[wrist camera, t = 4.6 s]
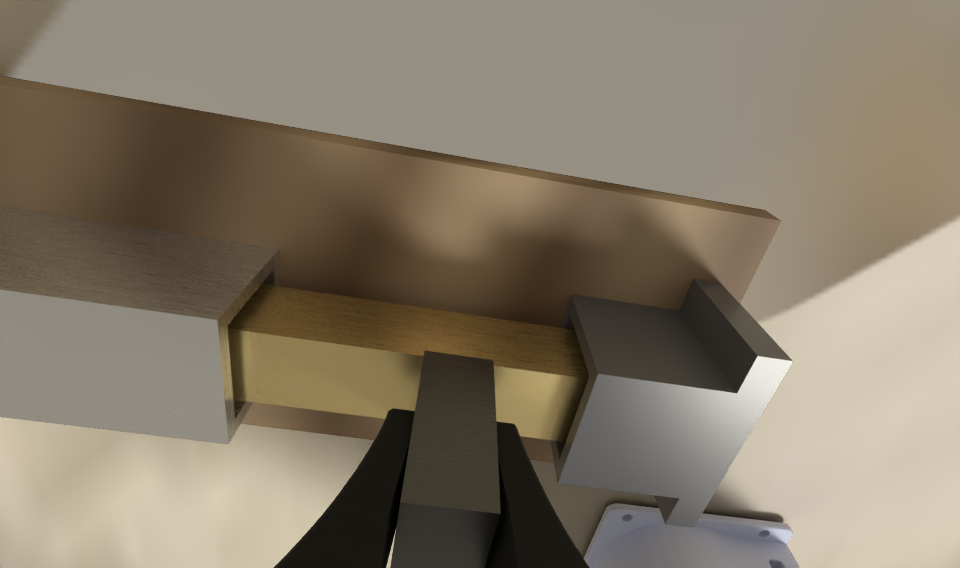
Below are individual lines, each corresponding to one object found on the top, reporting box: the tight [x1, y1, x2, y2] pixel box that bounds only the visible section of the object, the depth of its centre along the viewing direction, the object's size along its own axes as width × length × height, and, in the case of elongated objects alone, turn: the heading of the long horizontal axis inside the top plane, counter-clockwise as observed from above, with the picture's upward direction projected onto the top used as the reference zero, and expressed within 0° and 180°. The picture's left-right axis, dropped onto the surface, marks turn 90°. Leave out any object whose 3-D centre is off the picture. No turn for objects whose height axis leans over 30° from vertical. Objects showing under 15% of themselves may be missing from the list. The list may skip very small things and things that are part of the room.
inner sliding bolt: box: [228, 284, 589, 568], centre depth 13 cm, size 16×3×8 cm, turn 80°
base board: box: [0, 76, 781, 462], centre depth 18 cm, size 26×12×1 cm, turn 80°
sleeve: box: [0, 205, 280, 444], centre depth 15 cm, size 9×4×4 cm, turn 80°
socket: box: [550, 279, 793, 528], centre depth 16 cm, size 5×7×4 cm
